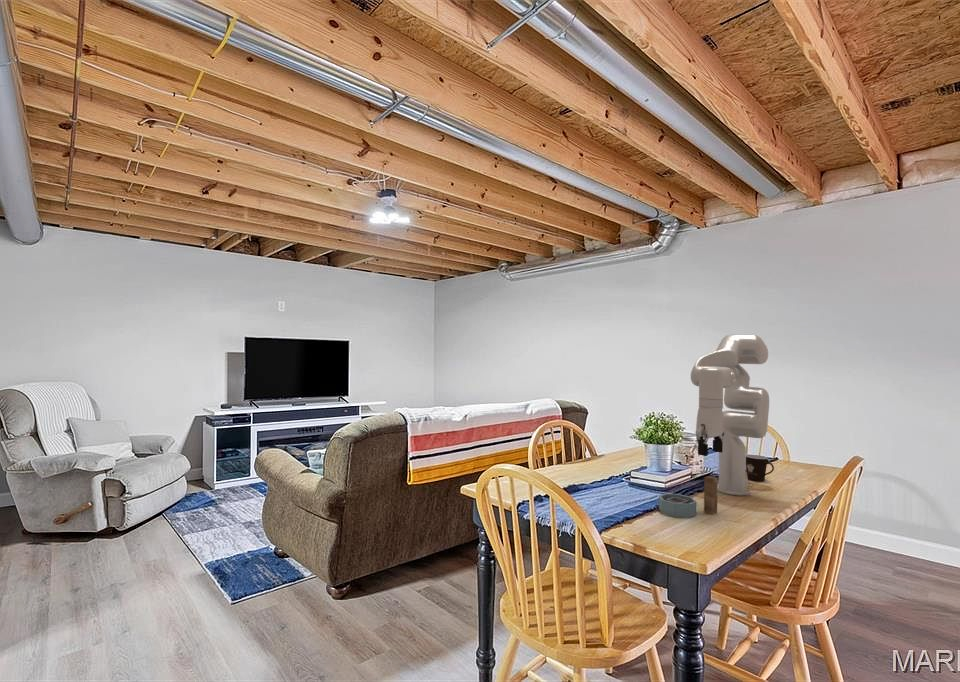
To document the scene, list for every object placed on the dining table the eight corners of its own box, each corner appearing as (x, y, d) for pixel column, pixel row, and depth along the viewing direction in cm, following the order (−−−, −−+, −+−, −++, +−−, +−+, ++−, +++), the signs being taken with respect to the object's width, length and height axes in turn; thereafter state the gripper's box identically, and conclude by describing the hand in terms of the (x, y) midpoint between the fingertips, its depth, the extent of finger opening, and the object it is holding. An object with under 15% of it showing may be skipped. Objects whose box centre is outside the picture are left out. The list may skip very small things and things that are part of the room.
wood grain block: (708, 510, 169) (708, 475, 169) (717, 513, 167) (717, 477, 167) (704, 512, 167) (704, 477, 167) (712, 514, 165) (712, 479, 165)
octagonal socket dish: (671, 504, 175) (671, 491, 175) (701, 513, 166) (701, 500, 166) (653, 510, 168) (653, 497, 168) (683, 519, 159) (683, 506, 159)
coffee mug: (740, 476, 215) (741, 454, 215) (760, 477, 214) (760, 454, 214) (754, 484, 203) (754, 460, 203) (775, 485, 203) (775, 460, 203)
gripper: (713, 401, 176) (712, 448, 175) (686, 404, 165) (686, 454, 165) (734, 403, 170) (733, 452, 169) (708, 406, 159) (707, 458, 159)
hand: (710, 453), depth 167 cm, fingers open, 9 cm apart
